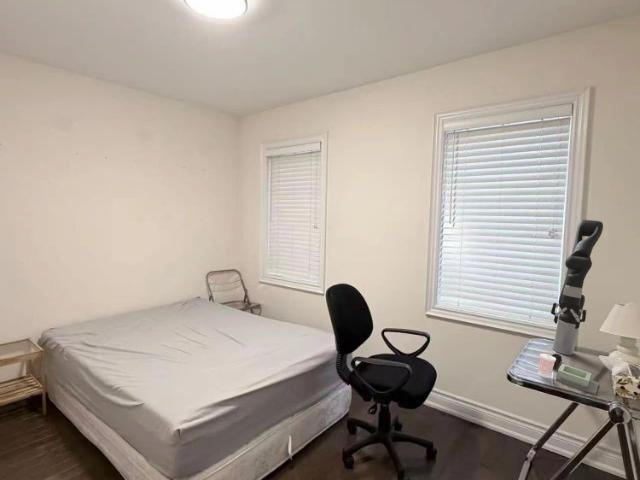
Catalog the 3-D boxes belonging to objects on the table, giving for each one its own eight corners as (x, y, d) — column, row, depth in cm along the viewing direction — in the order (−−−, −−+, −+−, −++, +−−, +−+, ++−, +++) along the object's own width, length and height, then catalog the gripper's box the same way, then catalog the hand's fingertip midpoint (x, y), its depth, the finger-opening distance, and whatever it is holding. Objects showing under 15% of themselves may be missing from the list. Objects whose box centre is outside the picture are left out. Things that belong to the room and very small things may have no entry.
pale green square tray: (560, 371, 161) (562, 362, 161) (598, 384, 152) (600, 375, 151) (555, 380, 151) (557, 371, 150) (595, 395, 141) (597, 385, 141)
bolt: (558, 364, 174) (551, 371, 163) (549, 356, 176) (541, 362, 166) (567, 357, 171) (560, 363, 160) (557, 349, 174) (550, 355, 163)
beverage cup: (555, 378, 152) (561, 349, 151) (544, 379, 151) (550, 349, 149) (544, 371, 158) (549, 343, 157) (533, 371, 157) (538, 343, 155)
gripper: (590, 298, 171) (583, 329, 172) (556, 291, 181) (550, 320, 182) (588, 299, 166) (581, 331, 167) (554, 292, 176) (547, 322, 177)
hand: (565, 326), depth 175 cm, fingers open, 8 cm apart
